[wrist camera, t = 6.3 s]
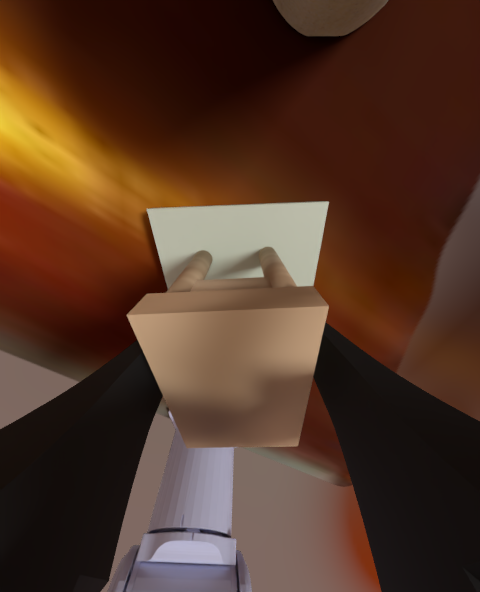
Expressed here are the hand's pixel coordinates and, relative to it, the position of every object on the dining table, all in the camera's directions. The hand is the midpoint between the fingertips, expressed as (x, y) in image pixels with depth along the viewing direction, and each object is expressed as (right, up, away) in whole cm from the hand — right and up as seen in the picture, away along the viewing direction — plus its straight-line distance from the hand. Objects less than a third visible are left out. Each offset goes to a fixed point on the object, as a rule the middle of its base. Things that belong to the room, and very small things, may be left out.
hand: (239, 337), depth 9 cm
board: (0, +2, +4) cm, 5 cm away
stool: (0, +2, +4) cm, 4 cm away
